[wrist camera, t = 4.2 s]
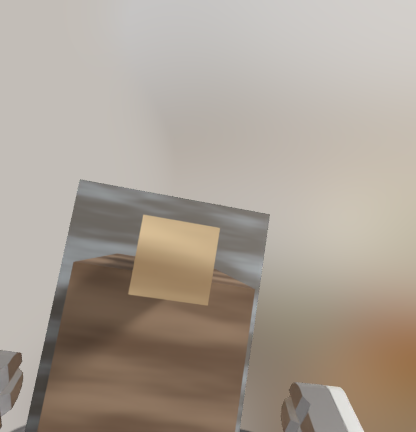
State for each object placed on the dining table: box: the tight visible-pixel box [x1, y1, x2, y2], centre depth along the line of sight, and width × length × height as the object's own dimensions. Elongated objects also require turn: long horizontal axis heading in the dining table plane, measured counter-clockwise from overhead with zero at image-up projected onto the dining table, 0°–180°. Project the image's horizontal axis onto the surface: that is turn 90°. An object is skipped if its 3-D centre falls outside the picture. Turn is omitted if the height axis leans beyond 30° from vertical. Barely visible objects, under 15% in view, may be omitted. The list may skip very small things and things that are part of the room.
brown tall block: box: [25, 180, 270, 432], centre depth 28 cm, size 19×24×34 cm
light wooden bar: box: [128, 215, 220, 306], centre depth 19 cm, size 16×4×4 cm, turn 8°
